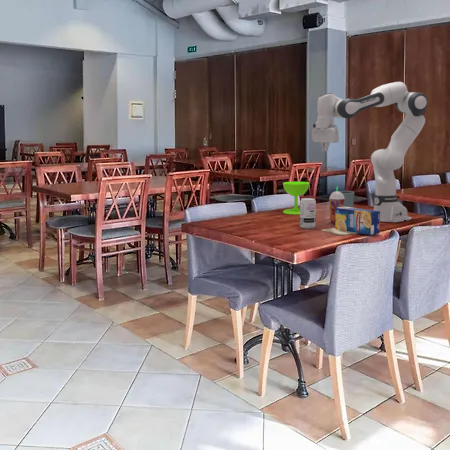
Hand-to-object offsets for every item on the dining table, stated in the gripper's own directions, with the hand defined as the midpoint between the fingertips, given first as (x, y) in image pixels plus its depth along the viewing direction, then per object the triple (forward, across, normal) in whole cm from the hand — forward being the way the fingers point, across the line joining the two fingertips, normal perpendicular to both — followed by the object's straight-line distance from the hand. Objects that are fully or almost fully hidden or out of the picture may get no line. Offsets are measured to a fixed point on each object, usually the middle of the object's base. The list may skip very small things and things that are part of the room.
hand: (325, 150), depth 302 cm
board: (+39, -26, +6) cm, 47 cm away
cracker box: (+33, -20, +4) cm, 38 cm away
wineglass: (+39, +39, -6) cm, 56 cm away
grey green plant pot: (+39, +27, -34) cm, 59 cm away
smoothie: (+39, -3, -6) cm, 40 cm away
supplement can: (+39, -7, +15) cm, 43 cm away
